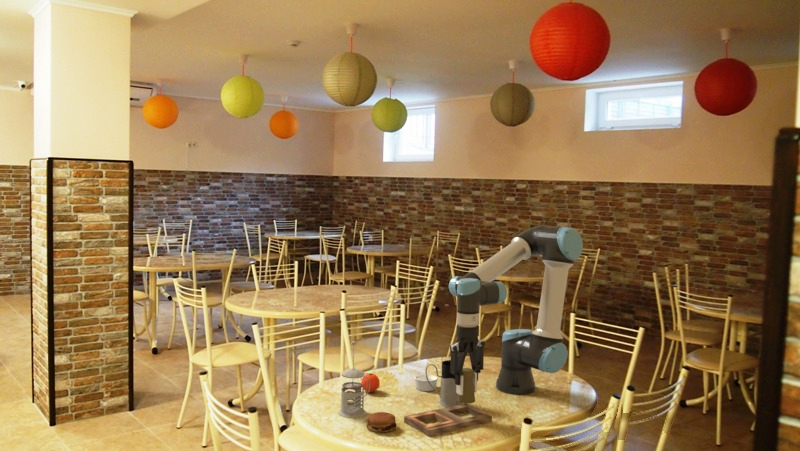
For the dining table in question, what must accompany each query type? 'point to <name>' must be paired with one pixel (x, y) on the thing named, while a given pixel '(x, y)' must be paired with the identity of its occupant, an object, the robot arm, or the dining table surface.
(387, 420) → the burger
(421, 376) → the ramekin
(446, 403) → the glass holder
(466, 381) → the cork
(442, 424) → the socket rail
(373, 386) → the tomato
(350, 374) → the french press
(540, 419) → the dining table surface
